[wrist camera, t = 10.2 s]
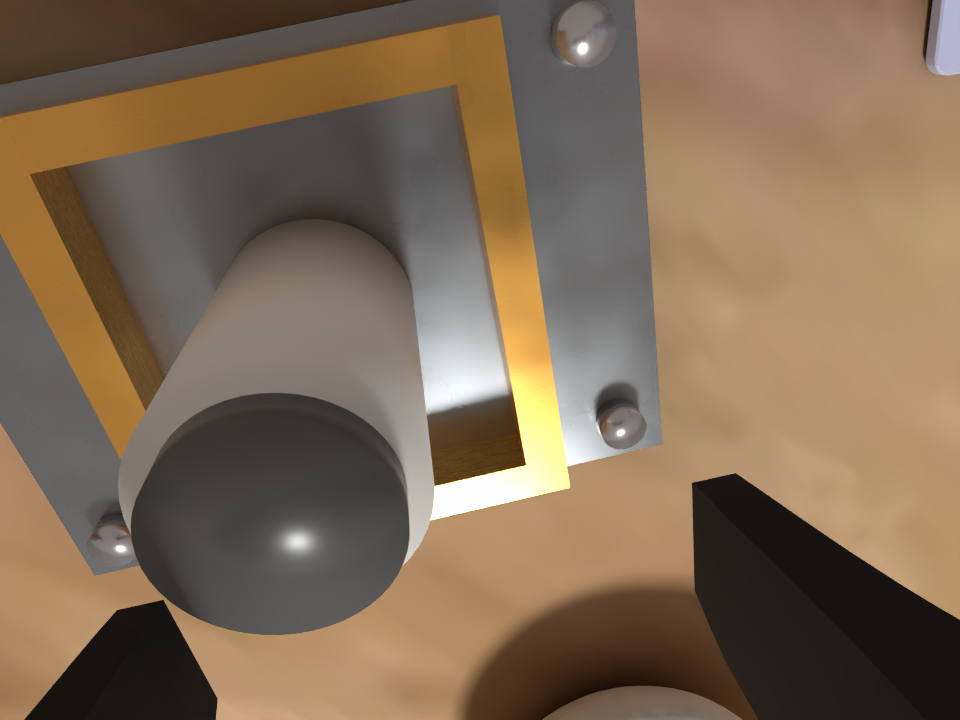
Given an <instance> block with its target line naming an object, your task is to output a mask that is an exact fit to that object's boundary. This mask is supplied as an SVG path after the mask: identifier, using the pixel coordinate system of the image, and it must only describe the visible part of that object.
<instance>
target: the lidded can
mask: <svg viewBox="0 0 960 720" xmlns="http://www.w3.org/2000/svg"><path fill="white" fill-rule="evenodd" d="M118 492H119V503H120V506H121V510H122V514H123V518H124V520H125V523H126V525H127V527H128V529H129V532H130V534H131V540H132V545H133V548H134V552H135V556H136V558H137V560H138V562H139V565H140V567H141V569H142V570H143V572H144V573H145V575H146V576H147V578H148V579H149V581H150V582H151V583H152V584H153V585H154V587H155V588H156V589H157V590H158V591H159V592H160V593H161V594H162V595H163V596H164V597H166V598H167V599H168V600H169V601H170V602H171V603H173V604H174V605H176V606H177V607H179V608H180V609H182V610H183V611H185V612H186V613H188V614H190V615H192V616H194V617H196V618H198V619H200V620H203V621H205V622H207V623H210V624H212V625H215V626H219V627H222V628H225V629H229V630H234V631H239V632H244V633H252V634H262V635H283V634H296V633H302V632H307V631H313V630H317V629H320V628H324V627H328V626H330V625H333V624H336V623H338V622H341V621H343V620H345V619H347V618H349V617H351V616H353V615H355V614H357V613H359V612H360V611H362V610H363V609H365V608H366V607H368V606H369V605H370V604H372V603H373V602H374V601H375V600H376V599H378V598H379V597H380V596H381V595H382V594H383V593H384V592H385V591H386V590H387V589H388V587H389V586H390V585H391V584H392V582H393V581H394V579H395V578H396V577H397V575H398V573H399V571H400V569H401V567H402V566H403V565H404V564H405V563H406V562H407V561H408V560H409V559H410V557H411V556H412V555H413V553H414V552H415V551H416V549H417V548H418V546H419V545H420V543H421V541H422V539H423V537H424V535H425V534H426V532H427V529H428V526H429V523H430V520H431V517H432V513H433V507H434V501H435V484H434V476H433V467H432V458H431V449H430V440H429V431H428V423H427V414H426V405H425V396H424V387H423V378H422V370H421V361H420V352H419V343H418V334H417V325H416V317H415V308H414V300H413V294H412V290H411V287H410V283H409V281H408V278H407V276H406V274H405V272H404V270H403V268H402V267H401V265H400V264H399V262H398V261H397V259H396V258H395V257H394V256H393V255H392V253H391V252H390V251H389V250H388V249H387V248H386V247H385V246H383V245H382V244H381V243H380V242H379V241H377V240H376V239H374V238H373V237H372V236H370V235H369V234H367V233H365V232H363V231H361V230H359V229H357V228H355V227H352V226H349V225H347V224H343V223H339V222H335V221H330V220H322V219H304V220H297V221H291V222H287V223H283V224H280V225H277V226H275V227H273V228H270V229H268V230H266V231H265V232H263V233H261V234H259V235H258V236H256V237H255V238H254V239H253V240H251V241H250V242H249V243H248V244H247V245H246V246H245V247H244V248H243V249H242V250H241V251H240V252H239V253H238V255H237V256H236V258H235V259H234V261H233V262H232V264H231V265H230V267H229V269H228V271H227V272H226V274H225V276H224V278H223V279H222V281H221V283H220V284H219V286H218V288H217V290H216V291H215V293H214V295H213V296H212V298H211V300H210V302H209V303H208V305H207V307H206V309H205V310H204V312H203V314H202V315H201V317H200V319H199V321H198V322H197V324H196V326H195V327H194V329H193V331H192V333H191V334H190V336H189V338H188V339H187V341H186V343H185V345H184V346H183V348H182V350H181V352H180V353H179V355H178V357H177V358H176V360H175V362H174V364H173V365H172V367H171V369H170V370H169V372H168V374H167V376H166V377H165V379H164V381H163V383H162V384H161V386H160V388H159V389H158V391H157V393H156V395H155V396H154V398H153V400H152V401H151V403H150V405H149V407H148V408H147V410H146V412H145V414H144V415H143V417H142V419H141V420H140V422H139V424H138V426H137V427H136V429H135V431H134V432H133V434H132V436H131V438H130V440H129V442H128V444H127V446H126V449H125V451H124V454H123V457H122V461H121V465H120V468H119V479H118Z"/></svg>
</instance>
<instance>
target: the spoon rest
mask: <svg viewBox="0 0 960 720" xmlns="http://www.w3.org/2000/svg"><path fill="white" fill-rule="evenodd" d="M543 720H742V719H741V718H740V717H738V716H737V715H735V714H734V713H732V712H731V711H729V710H728V709H726V708H724V707H723V706H721V705H719V704H717V703H715V702H713V701H711V700H709V699H707V698H704V697H702V696H700V695H697V694H694V693H690V692H686V691H682V690H678V689H674V688H667V687H657V686H627V687H618V688H612V689H608V690H603V691H598V692H595V693H592V694H589V695H586V696H584V697H582V698H579V699H577V700H574V701H572V702H570V703H568V704H566V705H564V706H562V707H561V708H559V709H557V710H556V711H554V712H553V713H551V714H549V715H548V716H546V717H545V718H544V719H543Z"/></svg>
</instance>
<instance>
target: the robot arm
mask: <svg viewBox="0 0 960 720" xmlns="http://www.w3.org/2000/svg"><path fill="white" fill-rule="evenodd" d="M926 65H927V67H928V69H929V71H931V72H932V73H934V74H938V75H954V74H959V73H960V0H933V3H932V11H931V19H930V28H929V36H928V44H927V52H926ZM692 497H693V538H694V579H695V592H696V594H697V597H698V599H699V601H700V604H701V606H702V608H703V611H704V613H705V616H706V618H707V620H708V623H709V625H710V627H711V630H712V632H713V634H714V636H715V639H716V641H717V643H718V645H719V647H720V650H721V652H722V654H723V656H724V659H725V661H726V663H727V664H728V666H729V668H730V670H731V672H732V673H733V675H734V677H735V679H736V680H737V682H738V684H739V686H740V687H741V689H742V691H743V693H744V694H745V696H746V698H747V700H748V701H749V703H750V705H751V707H752V708H753V710H754V712H755V714H756V715H757V717H758V719H759V720H960V620H959V619H957V618H956V617H954V616H952V615H950V614H949V613H947V612H945V611H944V610H942V609H940V608H939V607H937V606H935V605H933V604H932V603H930V602H928V601H927V600H925V599H923V598H922V597H920V596H918V595H917V594H915V593H914V592H912V591H910V590H909V589H907V588H905V587H904V586H902V585H901V584H899V583H897V582H896V581H894V580H893V579H891V578H890V577H888V576H887V575H885V574H884V573H882V572H880V571H879V570H877V569H876V568H874V567H873V566H871V565H870V564H868V563H867V562H865V561H863V560H862V559H860V558H859V557H857V556H856V555H854V554H853V553H851V552H850V551H848V550H847V549H845V548H844V547H842V546H841V545H839V544H838V543H836V542H835V541H833V540H832V539H830V538H829V537H827V536H826V535H824V534H823V533H821V532H820V531H818V530H817V529H816V528H814V527H813V526H811V525H810V524H808V523H807V522H805V521H804V520H802V519H801V518H799V517H798V516H797V515H795V514H794V513H792V512H791V511H789V510H788V509H787V508H785V507H784V506H782V505H781V504H779V503H778V502H777V501H775V500H774V499H772V498H771V497H769V496H768V495H766V494H765V493H764V492H762V491H761V490H759V489H758V488H756V487H755V486H753V485H752V484H750V483H749V482H748V481H746V480H745V479H743V478H742V477H740V476H739V475H737V474H736V473H735V474H730V475H726V476H721V477H717V478H712V479H708V480H703V481H699V482H694V483H692ZM216 709H217V697H216V695H215V693H214V692H213V690H212V688H211V686H210V684H209V682H208V681H207V679H206V677H205V675H204V673H203V672H202V670H201V668H200V666H199V664H198V662H197V661H196V659H195V657H194V655H193V653H192V651H191V650H190V648H189V646H188V644H187V642H186V641H185V639H184V637H183V635H182V633H181V631H180V630H179V628H178V626H177V624H176V622H175V620H174V619H173V617H172V615H171V613H170V611H169V610H168V608H167V606H166V604H165V602H164V600H161V601H157V602H152V603H148V604H143V605H139V606H134V607H129V608H125V609H120V610H117V611H116V612H115V613H114V614H113V616H112V617H111V618H110V619H109V620H108V621H107V622H106V623H105V624H104V626H103V627H102V628H101V629H100V630H99V631H98V632H97V634H96V635H95V636H94V637H93V638H92V640H91V641H90V642H89V643H88V644H87V645H86V647H85V648H84V649H83V650H82V651H81V653H80V654H79V655H78V656H77V657H76V659H75V660H74V661H73V662H72V663H71V665H70V666H69V667H68V668H67V669H66V671H65V672H64V673H63V674H62V675H61V677H60V678H59V679H58V680H57V681H56V683H55V684H54V685H53V686H52V687H51V689H50V690H49V691H48V692H47V693H46V695H45V696H44V697H43V698H42V699H41V701H40V702H39V703H38V704H37V705H36V707H35V708H34V709H33V710H32V711H31V713H30V714H29V715H28V716H27V717H26V718H25V720H216Z"/></svg>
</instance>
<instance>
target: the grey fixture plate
mask: <svg viewBox="0 0 960 720" xmlns="http://www.w3.org/2000/svg"><path fill="white" fill-rule="evenodd" d="M304 219H322V220H330V221H335V222H339V223H343V224H347V225H349V226H352V227H355V228H357V229H359V230H361V231H363V232H365V233H367V234H369V235H370V236H372V237H373V238H374V239H376V240H377V241H379V242H380V243H381V244H382V245H383V246H385V247H386V248H387V249H388V250H389V251H390V252H391V253H392V255H393V256H394V257H395V258H396V259H397V261H398V262H399V264H400V265H401V267H402V268H403V270H404V272H405V274H406V276H407V278H408V281H409V283H410V287H411V290H412V294H413V300H414V308H415V317H416V325H417V334H418V343H419V352H420V361H421V370H422V378H423V387H424V396H425V405H426V414H427V423H428V431H429V440H430V449H431V458H432V467H433V476H434V484H435V501H434V507H433V513H432V517H431V520H432V519H437V518H441V517H445V516H450V515H454V514H458V513H462V512H467V511H471V510H475V509H480V508H484V507H488V506H493V505H497V504H501V503H505V502H510V501H514V500H518V499H523V498H527V497H531V496H535V495H540V494H544V493H548V492H553V491H557V490H561V489H566V488H570V484H569V477H568V471H567V466H570V465H574V464H579V463H583V462H587V461H592V460H596V459H600V458H605V457H609V456H613V455H618V454H622V453H626V452H631V451H635V450H639V449H644V448H648V447H652V446H657V445H661V444H662V430H661V415H660V399H659V383H658V367H657V352H656V336H655V320H654V304H653V289H652V273H651V257H650V241H649V226H648V210H647V194H646V179H645V163H644V147H643V131H642V116H641V100H640V84H639V68H638V53H637V37H636V21H635V5H634V0H412V1H407V2H402V3H398V4H393V5H388V6H383V7H378V8H373V9H368V10H363V11H358V12H354V13H349V14H344V15H339V16H334V17H329V18H324V19H319V20H314V21H310V22H305V23H300V24H295V25H290V26H285V27H280V28H275V29H270V30H266V31H261V32H256V33H251V34H246V35H241V36H236V37H231V38H226V39H222V40H217V41H212V42H207V43H202V44H197V45H192V46H187V47H183V48H178V49H173V50H168V51H163V52H158V53H153V54H148V55H143V56H139V57H134V58H129V59H124V60H119V61H114V62H109V63H104V64H99V65H95V66H90V67H85V68H80V69H75V70H70V71H65V72H60V73H55V74H51V75H46V76H41V77H36V78H31V79H26V80H21V81H16V82H11V83H7V84H2V85H0V423H1V424H2V426H3V428H4V429H5V431H6V432H7V434H8V436H9V437H10V439H11V441H12V442H13V444H14V445H15V447H16V449H17V450H18V452H19V454H20V455H21V457H22V458H23V460H24V462H25V463H26V465H27V466H28V468H29V470H30V471H31V473H32V475H33V476H34V478H35V479H36V481H37V483H38V484H39V486H40V488H41V489H42V491H43V492H44V494H45V496H46V497H47V499H48V500H49V502H50V504H51V505H52V507H53V509H54V510H55V512H56V513H57V515H58V517H59V518H60V520H61V522H62V523H63V525H64V526H65V528H66V530H67V531H68V533H69V534H70V536H71V538H72V539H73V541H74V543H75V544H76V546H77V547H78V549H79V551H80V552H81V554H82V556H83V557H84V559H85V560H86V562H87V564H88V565H89V567H90V568H91V570H92V572H93V573H94V575H100V574H104V573H108V572H113V571H117V570H121V569H126V568H130V567H134V566H139V562H138V560H137V558H136V556H135V552H134V548H133V545H132V540H131V534H130V532H129V529H128V527H127V525H126V523H125V520H124V518H123V514H122V510H121V506H120V503H119V492H118V479H119V468H120V465H121V461H122V457H123V454H124V451H125V449H126V446H127V444H128V442H129V440H130V438H131V436H132V434H133V432H134V431H135V429H136V427H137V426H138V424H139V422H140V420H141V419H142V417H143V415H144V414H145V412H146V410H147V408H148V407H149V405H150V403H151V401H152V400H153V398H154V396H155V395H156V393H157V391H158V389H159V388H160V386H161V384H162V383H163V381H164V379H165V377H166V376H167V374H168V372H169V370H170V369H171V367H172V365H173V364H174V362H175V360H176V358H177V357H178V355H179V353H180V352H181V350H182V348H183V346H184V345H185V343H186V341H187V339H188V338H189V336H190V334H191V333H192V331H193V329H194V327H195V326H196V324H197V322H198V321H199V319H200V317H201V315H202V314H203V312H204V310H205V309H206V307H207V305H208V303H209V302H210V300H211V298H212V296H213V295H214V293H215V291H216V290H217V288H218V286H219V284H220V283H221V281H222V279H223V278H224V276H225V274H226V272H227V271H228V269H229V267H230V265H231V264H232V262H233V261H234V259H235V258H236V256H237V255H238V253H239V252H240V251H241V250H242V249H243V248H244V247H245V246H246V245H247V244H248V243H249V242H250V241H251V240H253V239H254V238H255V237H256V236H258V235H259V234H261V233H263V232H265V231H266V230H268V229H270V228H273V227H275V226H277V225H280V224H283V223H287V222H291V221H297V220H304Z"/></svg>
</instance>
